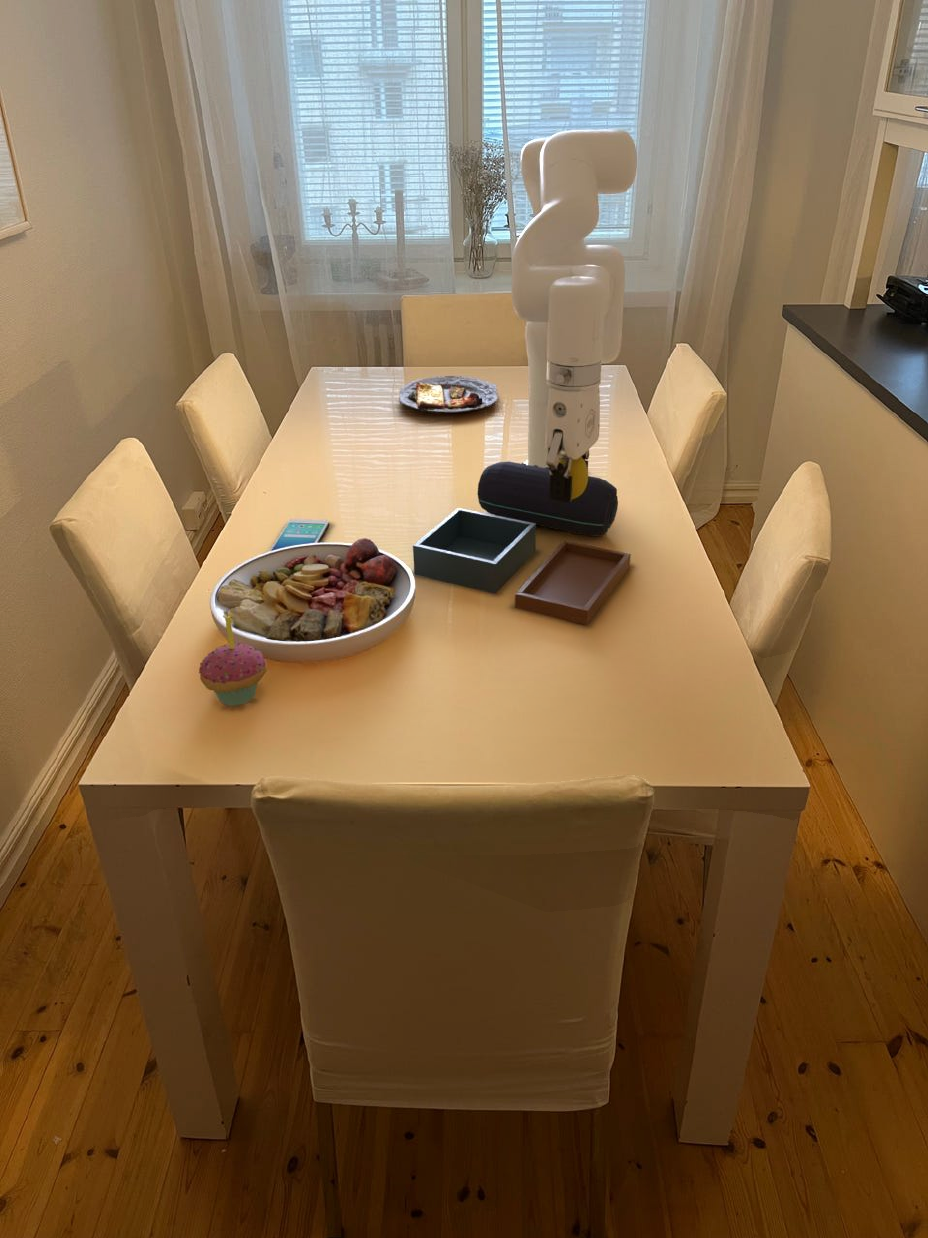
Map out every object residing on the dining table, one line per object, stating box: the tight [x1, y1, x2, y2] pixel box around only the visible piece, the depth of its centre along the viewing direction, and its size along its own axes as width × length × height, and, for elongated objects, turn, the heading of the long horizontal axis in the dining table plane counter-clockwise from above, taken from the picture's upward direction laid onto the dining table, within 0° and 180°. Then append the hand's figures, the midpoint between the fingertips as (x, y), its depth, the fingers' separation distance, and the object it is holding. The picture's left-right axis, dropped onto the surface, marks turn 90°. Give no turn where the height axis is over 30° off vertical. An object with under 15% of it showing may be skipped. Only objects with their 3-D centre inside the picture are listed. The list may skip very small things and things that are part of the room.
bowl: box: [209, 537, 417, 664], centre depth 138 cm, size 30×30×8 cm
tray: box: [514, 540, 632, 626], centre depth 145 cm, size 20×12×2 cm, turn 153°
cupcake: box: [198, 610, 268, 707], centre depth 120 cm, size 9×8×12 cm
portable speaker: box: [476, 461, 619, 537], centre depth 162 cm, size 25×10×10 cm, turn 62°
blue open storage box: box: [412, 507, 537, 595], centre depth 152 cm, size 16×15×5 cm
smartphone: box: [268, 518, 330, 552], centre depth 160 cm, size 8×1×15 cm
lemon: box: [559, 453, 589, 500], centre depth 137 cm, size 6×6×8 cm
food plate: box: [398, 375, 498, 414], centre depth 221 cm, size 25×23×4 cm
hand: (568, 491), depth 138 cm, fingers closed on lemon, 5 cm apart
